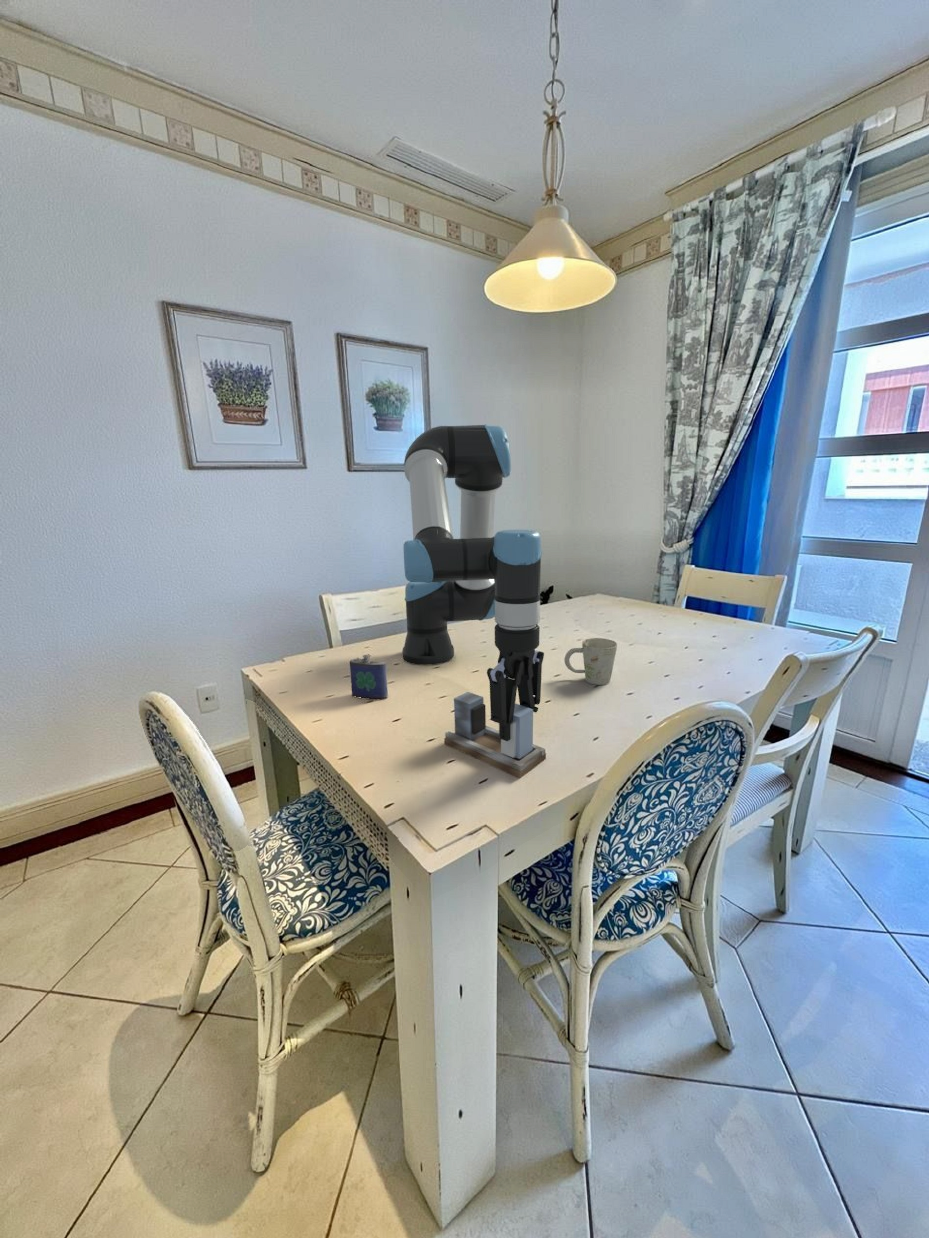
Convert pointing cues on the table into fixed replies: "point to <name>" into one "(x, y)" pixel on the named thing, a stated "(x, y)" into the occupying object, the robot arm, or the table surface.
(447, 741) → the rail board
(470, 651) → the table surface
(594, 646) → the mug
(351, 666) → the flask
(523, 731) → the blue-grey rectangular block
